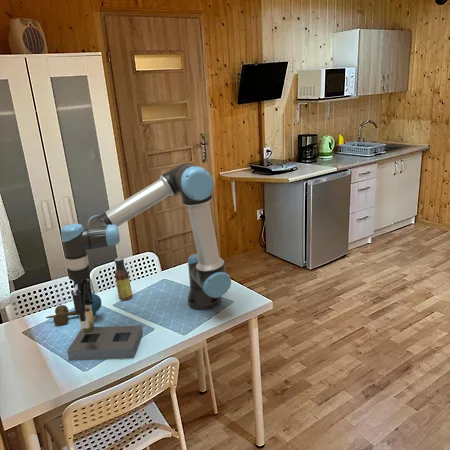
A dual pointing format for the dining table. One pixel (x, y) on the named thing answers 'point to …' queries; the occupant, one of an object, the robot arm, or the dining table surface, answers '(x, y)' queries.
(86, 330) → the bushing
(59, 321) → the kendama
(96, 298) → the light bulb
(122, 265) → the sauce bottle
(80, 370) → the dining table surface
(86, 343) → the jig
